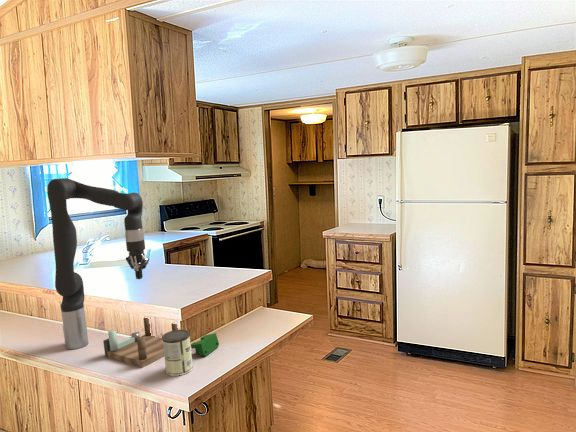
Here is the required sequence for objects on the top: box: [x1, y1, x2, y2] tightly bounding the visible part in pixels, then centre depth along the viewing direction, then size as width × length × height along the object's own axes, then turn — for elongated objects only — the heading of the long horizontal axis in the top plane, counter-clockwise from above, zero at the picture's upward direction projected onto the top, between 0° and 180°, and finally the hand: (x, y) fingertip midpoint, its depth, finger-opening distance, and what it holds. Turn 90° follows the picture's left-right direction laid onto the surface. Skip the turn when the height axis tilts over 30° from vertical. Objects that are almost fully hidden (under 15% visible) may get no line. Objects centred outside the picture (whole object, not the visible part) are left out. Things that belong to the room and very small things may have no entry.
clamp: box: [191, 332, 220, 357], centre depth 186 cm, size 12×6×9 cm, turn 150°
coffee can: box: [161, 329, 194, 377], centre depth 170 cm, size 10×10×14 cm
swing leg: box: [107, 329, 141, 351], centre depth 191 cm, size 14×3×8 cm, turn 147°
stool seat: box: [102, 317, 178, 368], centre depth 190 cm, size 24×22×10 cm
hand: (139, 278), depth 193 cm, fingers closed
